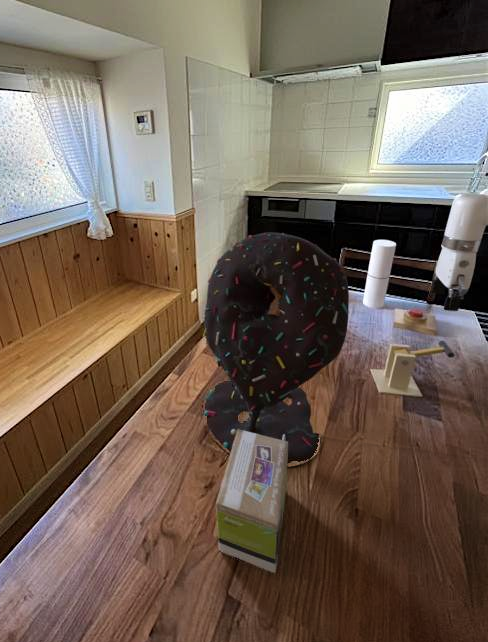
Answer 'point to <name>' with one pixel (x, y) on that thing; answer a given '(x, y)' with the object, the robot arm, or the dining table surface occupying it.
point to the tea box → (253, 499)
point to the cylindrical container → (379, 273)
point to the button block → (414, 322)
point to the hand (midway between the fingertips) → (443, 301)
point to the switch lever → (429, 350)
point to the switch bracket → (397, 373)
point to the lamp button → (416, 312)
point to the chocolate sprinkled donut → (272, 336)
